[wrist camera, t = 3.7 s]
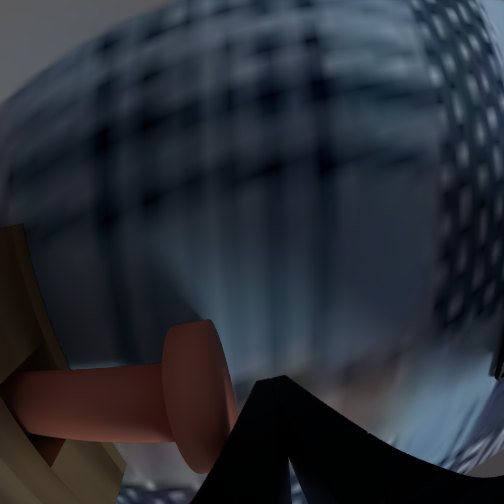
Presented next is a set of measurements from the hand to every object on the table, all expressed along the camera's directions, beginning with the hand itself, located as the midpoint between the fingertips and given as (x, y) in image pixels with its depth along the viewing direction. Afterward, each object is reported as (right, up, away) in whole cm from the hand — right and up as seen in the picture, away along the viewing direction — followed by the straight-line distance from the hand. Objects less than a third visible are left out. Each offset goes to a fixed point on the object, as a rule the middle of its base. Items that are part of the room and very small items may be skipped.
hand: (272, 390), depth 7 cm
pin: (-6, -1, +2) cm, 7 cm away
